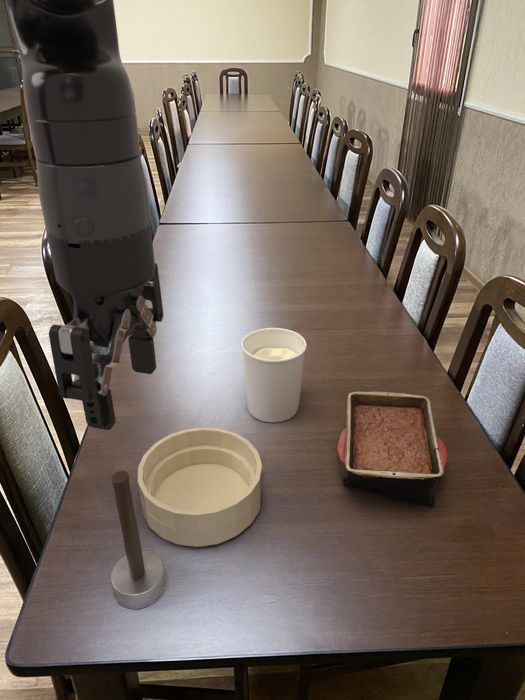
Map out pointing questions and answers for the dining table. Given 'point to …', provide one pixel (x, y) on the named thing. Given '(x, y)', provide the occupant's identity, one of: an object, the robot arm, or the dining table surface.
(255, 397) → the white cup
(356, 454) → the baking dish
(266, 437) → the dining table surface
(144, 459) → the bowl
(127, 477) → the rod with silver disc
